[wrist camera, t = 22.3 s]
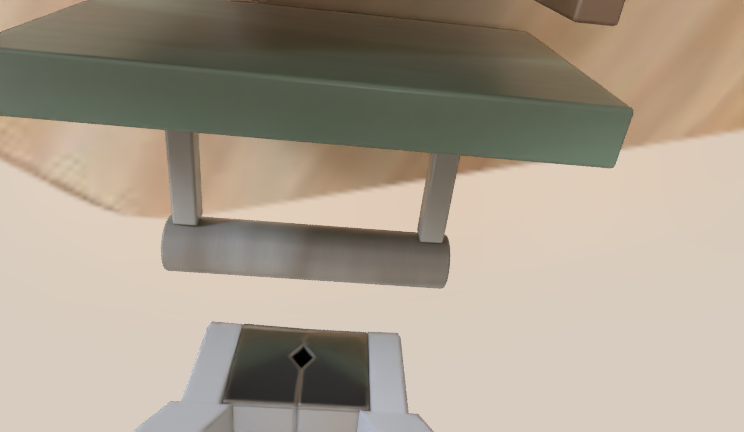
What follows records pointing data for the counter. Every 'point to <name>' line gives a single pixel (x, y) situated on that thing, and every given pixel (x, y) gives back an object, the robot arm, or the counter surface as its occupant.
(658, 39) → the counter surface
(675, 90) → the counter surface
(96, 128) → the counter surface
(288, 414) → the robot arm
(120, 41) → the drawer
